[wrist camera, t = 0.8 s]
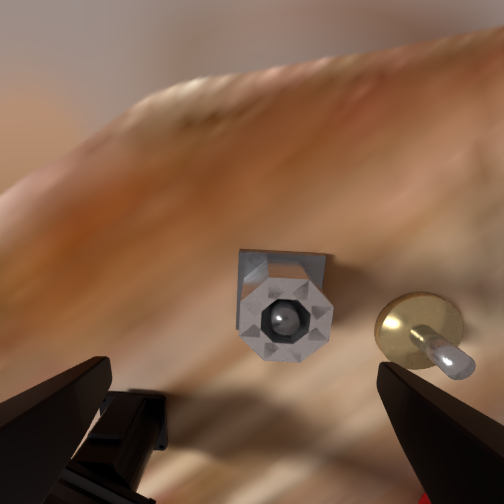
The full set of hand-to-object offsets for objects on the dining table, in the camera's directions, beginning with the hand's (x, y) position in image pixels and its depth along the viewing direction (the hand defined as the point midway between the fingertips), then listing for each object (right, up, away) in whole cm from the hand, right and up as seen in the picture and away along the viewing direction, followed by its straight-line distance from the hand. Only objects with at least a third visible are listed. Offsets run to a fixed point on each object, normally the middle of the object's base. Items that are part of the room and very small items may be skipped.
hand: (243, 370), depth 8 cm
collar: (+3, 0, +12) cm, 12 cm away
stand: (+3, +1, +13) cm, 13 cm away
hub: (+15, -3, +13) cm, 20 cm away
